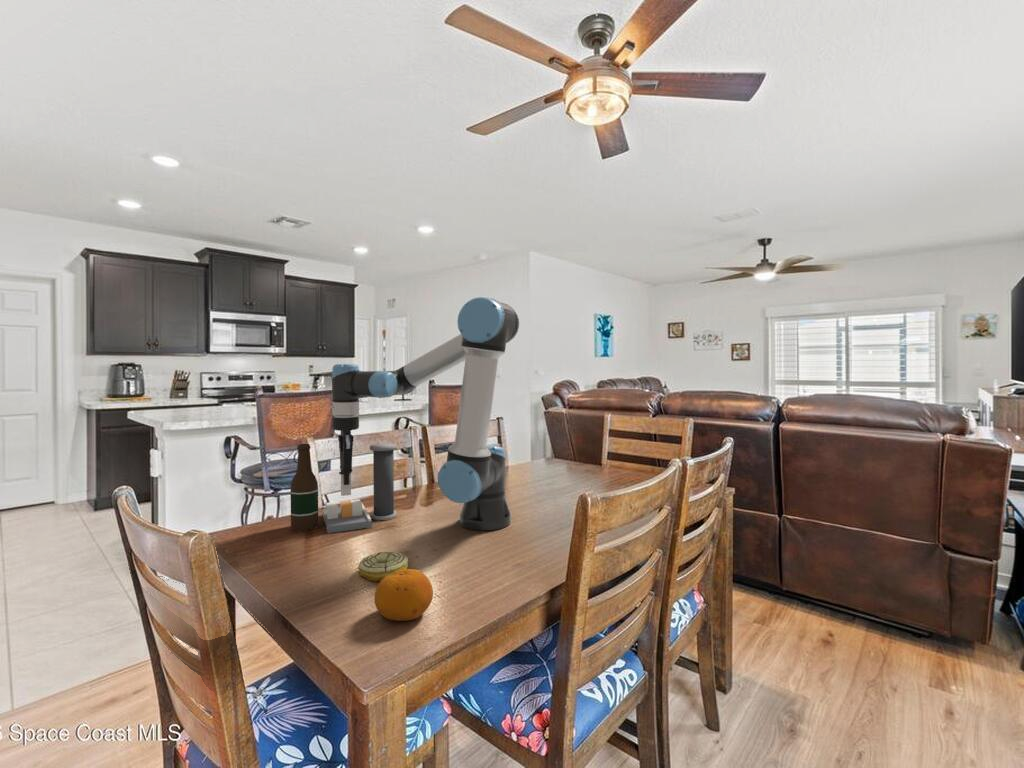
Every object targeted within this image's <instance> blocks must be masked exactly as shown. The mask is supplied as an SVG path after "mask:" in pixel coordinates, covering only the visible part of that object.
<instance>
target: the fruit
mask: <svg viewBox="0 0 1024 768" xmlns="http://www.w3.org/2000/svg"><path fill="white" fill-rule="evenodd" d="M433 597H434V589H433V585H432V582H431V581H430V579H429V577H428V576H427V575H426V574H425V573H424V572H422V571H421V570H418V569H415V568H413V569H412V568H407V569H404V570H399V571H396V572H395V573H392V574H390V575H388V576H386V577H385V578H384V579H383V580H381V581H379V583H378V584H377V587H376V589H375V592H374V605H375V607H376V610H377V611H378V612H379V613H380V614H381V615H382V616H383V617H384V618H385V619H387V620H391V621H399V622H403V621H404V622H405V621H412V620H415V619H417V618H419V617H420V616H422V615H423V614H424V613H425V612H426V611H427V609H428V608H429V607H430V605H431V603H432V602H433Z"/></svg>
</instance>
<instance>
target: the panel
mask: <svg viewBox="0 0 1024 768" xmlns="http://www.w3.org/2000/svg"><path fill="white" fill-rule="evenodd" d="M322 517H323V521H324V524H325V530H326V529H327V530H326V533H328V534H334V533H333V532H335V533H341V532H342V531H343V532H349V530H350V531H356V530H355V529H358V530H363V529H362V528H365V529H371V527H372V528H373V520H372V519H371V518H370V514H369V513H368V510H367V508H366V506H365V505H364V504H363V502H362V515H359V516H351V517H343V518H342V515H341V513H340V506H338V518H334V519H328V518H327V515H326V507H324V508H322Z"/></svg>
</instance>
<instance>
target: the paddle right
mask: <svg viewBox="0 0 1024 768" xmlns="http://www.w3.org/2000/svg"><path fill="white" fill-rule="evenodd" d="M350 501H351V503H352V516H359V515H362V503H363V502H362V500H361V499H359V498H358V499H350Z"/></svg>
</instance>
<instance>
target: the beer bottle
mask: <svg viewBox="0 0 1024 768" xmlns="http://www.w3.org/2000/svg"><path fill="white" fill-rule="evenodd" d="M311 448H312V447H311V444H310V443H299V444H297V448H296V449H297V464H296V465H297V468H296V472H295V474H294V476H293V477H292V479H291V482H290V527H291V531H292V530H294V531H293V532H298V531H302V532H306V531H305V530H310V531H312V530H311V529H313V530H315V529H317V528H318V527H319V485H318V480H317V476H316V475H315V474H314V472H313V471H312V466H311V465H312V464H311V452H310V449H311ZM316 527H317V528H316ZM314 528H315V529H314Z"/></svg>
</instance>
